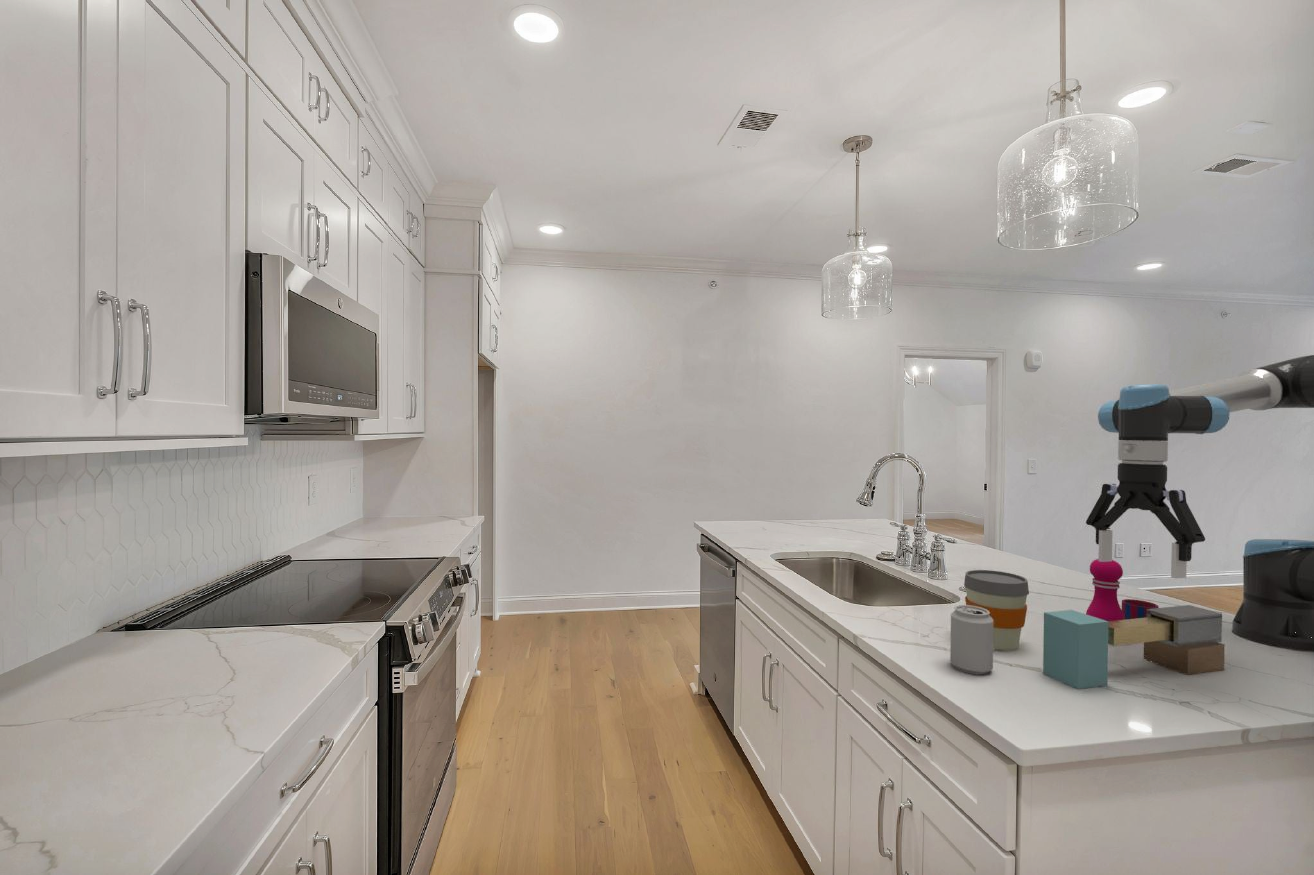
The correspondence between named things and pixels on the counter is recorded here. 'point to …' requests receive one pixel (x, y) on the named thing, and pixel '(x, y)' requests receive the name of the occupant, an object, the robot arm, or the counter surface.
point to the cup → (1136, 608)
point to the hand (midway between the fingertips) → (1139, 569)
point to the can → (971, 639)
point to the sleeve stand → (1188, 640)
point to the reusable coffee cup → (999, 603)
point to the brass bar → (1140, 630)
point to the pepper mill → (1105, 591)
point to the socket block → (1075, 648)
